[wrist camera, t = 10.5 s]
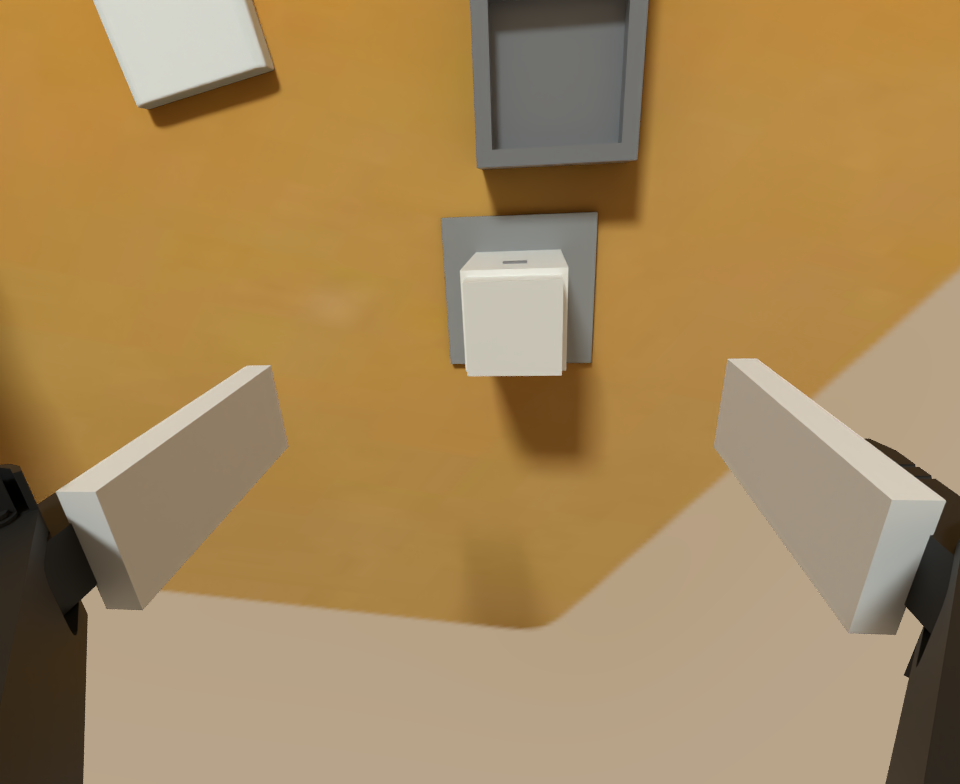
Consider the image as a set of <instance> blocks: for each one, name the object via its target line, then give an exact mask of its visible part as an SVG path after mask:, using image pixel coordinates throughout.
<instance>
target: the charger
mask: <svg viewBox="0 0 960 784" xmlns="http://www.w3.org/2000/svg"><path fill="white" fill-rule="evenodd" d="M460 282H461V299H462V315H463V332H464V349H465V366H466V371H468V376H562V371H566V357H567V311H568V265H567V263H566V260H565V258H564V256H563V254H562V251H561V249H558V250H529V251H501V252H476V253H475V254H474V255H473V256H472V257H471V258H470V260H469V261H468V262H467V263H466V264H465V265H464V266H463V268H462V269H461V270H460Z"/></svg>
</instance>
